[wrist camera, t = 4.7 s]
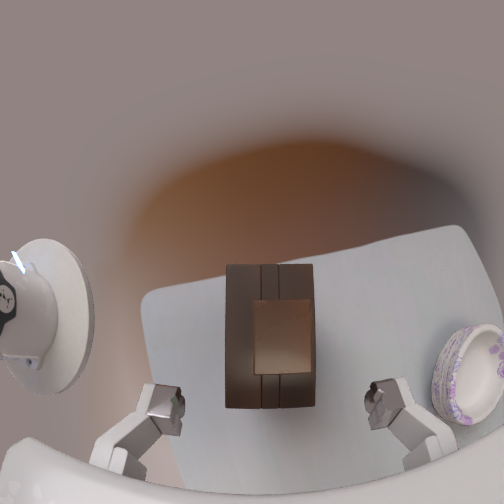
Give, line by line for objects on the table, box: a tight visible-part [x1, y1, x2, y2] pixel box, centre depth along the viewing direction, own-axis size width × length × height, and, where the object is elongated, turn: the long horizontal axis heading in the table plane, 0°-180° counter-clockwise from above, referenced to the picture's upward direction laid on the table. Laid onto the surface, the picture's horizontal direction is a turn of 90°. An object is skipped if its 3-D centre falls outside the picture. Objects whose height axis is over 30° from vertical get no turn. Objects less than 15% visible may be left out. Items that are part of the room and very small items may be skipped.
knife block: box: [225, 264, 316, 409], centre depth 26 cm, size 6×10×18 cm, turn 0°
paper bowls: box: [431, 324, 504, 426], centre depth 27 cm, size 15×15×8 cm
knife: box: [253, 299, 312, 375], centre depth 17 cm, size 2×3×17 cm, turn 0°
